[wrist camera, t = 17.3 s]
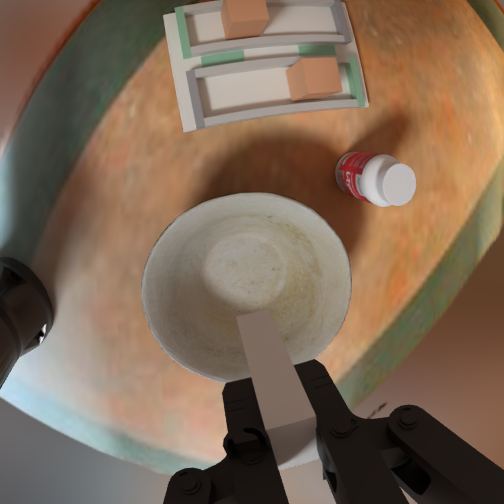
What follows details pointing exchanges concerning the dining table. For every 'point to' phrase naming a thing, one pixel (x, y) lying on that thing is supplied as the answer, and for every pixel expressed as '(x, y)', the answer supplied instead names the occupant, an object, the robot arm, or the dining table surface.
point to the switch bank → (258, 61)
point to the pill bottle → (375, 178)
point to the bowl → (245, 281)
